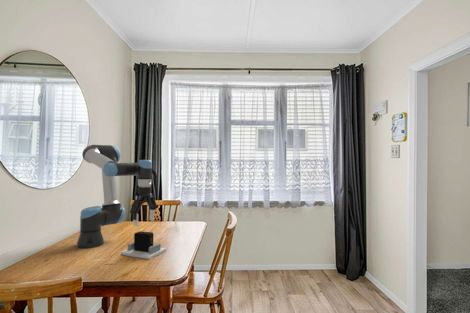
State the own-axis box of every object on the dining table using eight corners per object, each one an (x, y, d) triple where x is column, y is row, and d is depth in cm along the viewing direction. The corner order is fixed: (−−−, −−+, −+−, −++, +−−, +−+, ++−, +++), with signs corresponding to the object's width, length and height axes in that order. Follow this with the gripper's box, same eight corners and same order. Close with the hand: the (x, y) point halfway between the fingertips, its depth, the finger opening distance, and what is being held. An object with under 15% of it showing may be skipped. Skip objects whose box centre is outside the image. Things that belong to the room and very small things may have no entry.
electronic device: (149, 252, 155) (149, 234, 155) (133, 250, 158) (134, 232, 158) (153, 249, 159) (153, 232, 159) (138, 248, 162) (138, 231, 162)
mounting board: (120, 254, 156) (121, 245, 156) (139, 246, 170) (139, 238, 170) (149, 259, 148) (149, 249, 149) (166, 250, 162) (166, 242, 162)
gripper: (134, 188, 147) (133, 228, 147) (163, 185, 170) (162, 219, 170) (123, 188, 150) (122, 227, 150) (153, 184, 173) (152, 218, 173)
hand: (144, 223), depth 160 cm, fingers open, 13 cm apart
